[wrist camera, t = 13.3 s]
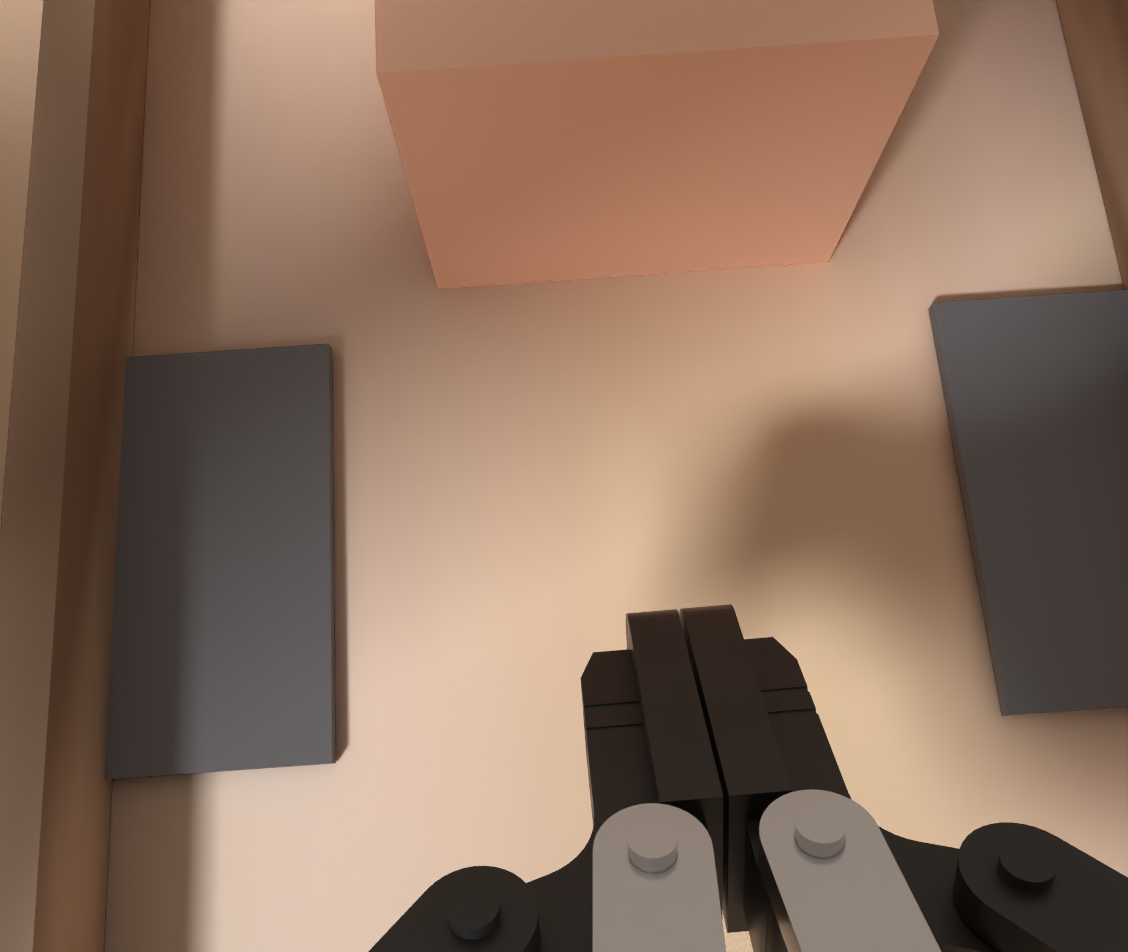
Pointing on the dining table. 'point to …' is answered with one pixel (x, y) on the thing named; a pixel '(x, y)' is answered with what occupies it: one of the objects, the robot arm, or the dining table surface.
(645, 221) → the terracotta block
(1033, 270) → the dining table surface
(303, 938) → the dining table surface
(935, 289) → the dining table surface
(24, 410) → the lane rails
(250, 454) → the pads
